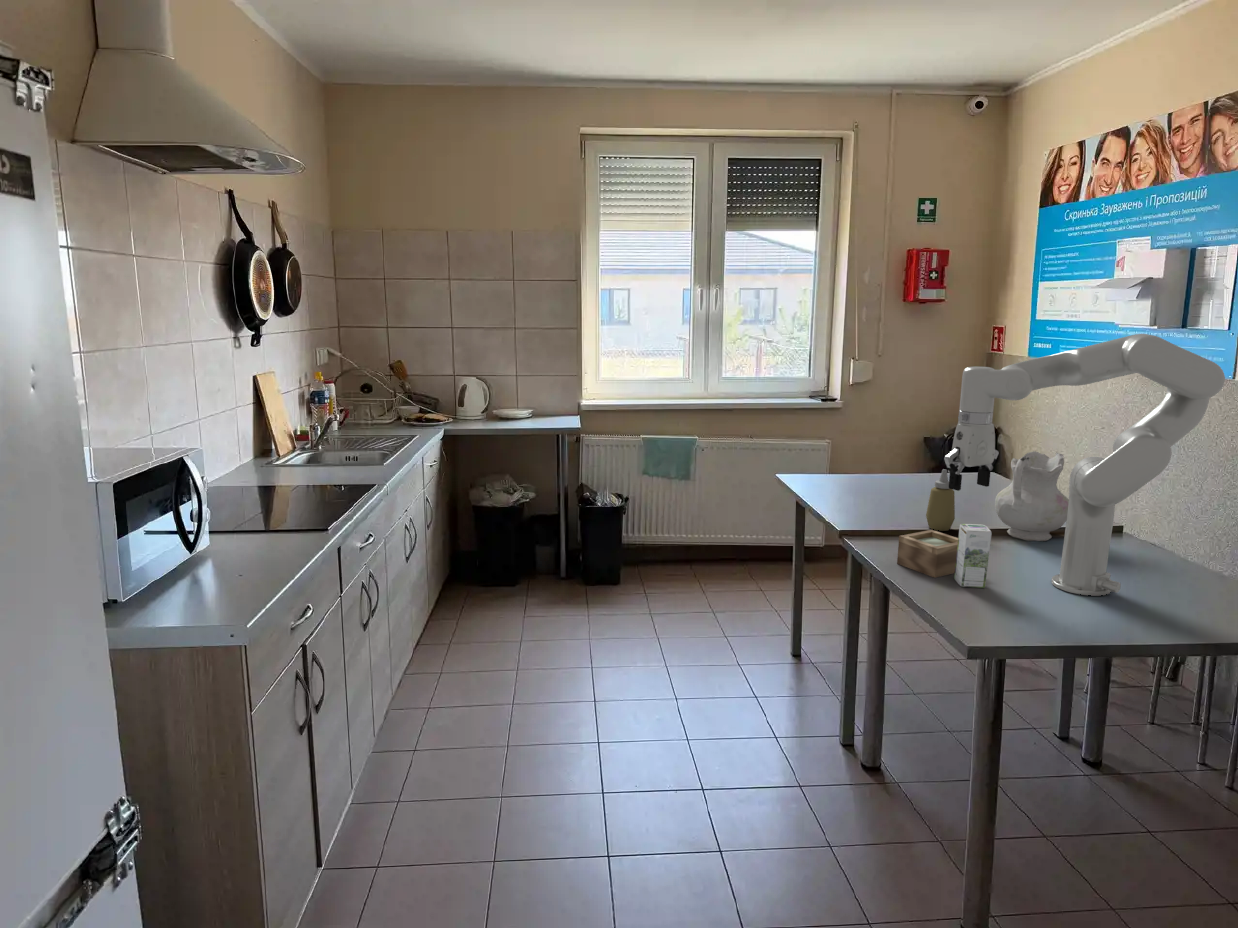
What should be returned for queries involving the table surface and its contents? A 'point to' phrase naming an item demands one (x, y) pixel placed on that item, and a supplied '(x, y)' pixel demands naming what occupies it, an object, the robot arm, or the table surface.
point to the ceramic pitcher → (1033, 497)
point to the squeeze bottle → (941, 505)
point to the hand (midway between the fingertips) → (968, 487)
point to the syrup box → (972, 555)
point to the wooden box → (928, 552)
